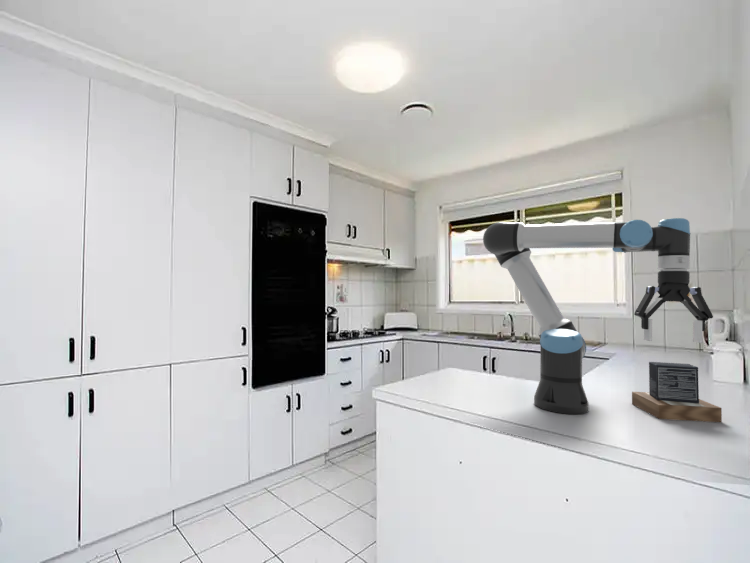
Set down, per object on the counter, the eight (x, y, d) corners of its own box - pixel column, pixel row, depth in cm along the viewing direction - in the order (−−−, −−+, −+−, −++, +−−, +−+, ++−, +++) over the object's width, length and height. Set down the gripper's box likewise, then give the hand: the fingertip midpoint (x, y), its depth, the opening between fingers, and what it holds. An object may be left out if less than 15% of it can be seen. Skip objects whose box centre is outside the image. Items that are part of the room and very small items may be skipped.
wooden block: (658, 418, 107) (658, 404, 107) (632, 404, 121) (632, 391, 121) (721, 422, 105) (721, 407, 105) (687, 406, 119) (686, 393, 119)
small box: (689, 397, 115) (689, 363, 115) (700, 404, 108) (700, 367, 109) (648, 394, 118) (648, 360, 118) (656, 400, 112) (656, 364, 112)
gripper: (635, 269, 112) (634, 341, 111) (729, 270, 108) (728, 344, 108) (622, 270, 119) (621, 337, 119) (710, 271, 116) (709, 341, 116)
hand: (672, 341), depth 114 cm, fingers open, 13 cm apart
